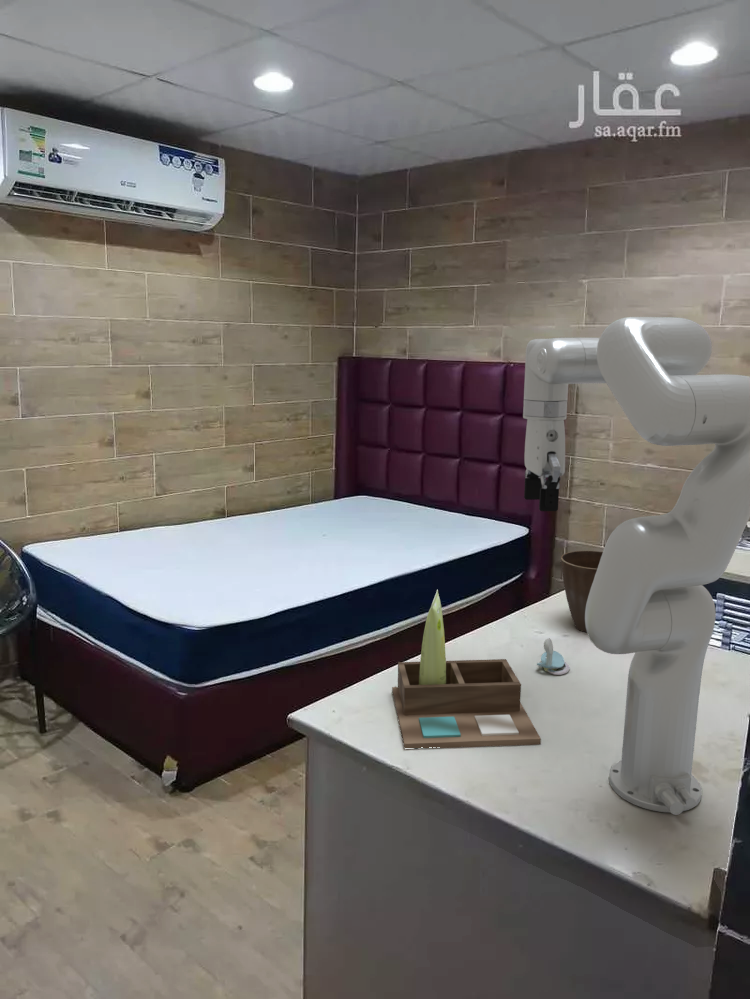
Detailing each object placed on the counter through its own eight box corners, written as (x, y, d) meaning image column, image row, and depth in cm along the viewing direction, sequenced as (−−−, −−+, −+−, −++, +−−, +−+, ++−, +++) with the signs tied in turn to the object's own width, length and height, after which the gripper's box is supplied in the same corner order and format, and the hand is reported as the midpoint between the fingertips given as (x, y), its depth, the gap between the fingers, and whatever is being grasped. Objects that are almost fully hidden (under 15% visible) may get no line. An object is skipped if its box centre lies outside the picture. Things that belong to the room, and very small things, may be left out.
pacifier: (572, 665, 153) (542, 659, 155) (575, 636, 151) (545, 630, 154) (565, 680, 146) (534, 673, 149) (567, 650, 145) (536, 643, 147)
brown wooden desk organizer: (540, 744, 123) (542, 710, 121) (404, 749, 121) (404, 714, 120) (509, 688, 142) (511, 658, 141) (392, 692, 140) (392, 661, 139)
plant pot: (544, 626, 173) (547, 558, 169) (580, 610, 183) (584, 546, 179) (602, 645, 162) (607, 573, 159) (638, 628, 172) (643, 559, 169)
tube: (453, 704, 134) (456, 598, 130) (429, 711, 131) (431, 603, 127) (435, 691, 138) (437, 589, 134) (412, 698, 136) (413, 593, 132)
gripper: (582, 415, 127) (576, 515, 130) (551, 405, 143) (546, 495, 147) (538, 415, 126) (533, 516, 130) (511, 405, 143) (508, 495, 146)
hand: (540, 504), depth 138 cm, fingers open, 9 cm apart
